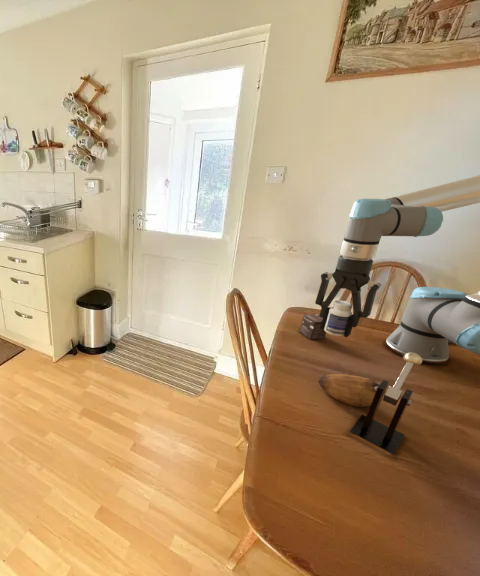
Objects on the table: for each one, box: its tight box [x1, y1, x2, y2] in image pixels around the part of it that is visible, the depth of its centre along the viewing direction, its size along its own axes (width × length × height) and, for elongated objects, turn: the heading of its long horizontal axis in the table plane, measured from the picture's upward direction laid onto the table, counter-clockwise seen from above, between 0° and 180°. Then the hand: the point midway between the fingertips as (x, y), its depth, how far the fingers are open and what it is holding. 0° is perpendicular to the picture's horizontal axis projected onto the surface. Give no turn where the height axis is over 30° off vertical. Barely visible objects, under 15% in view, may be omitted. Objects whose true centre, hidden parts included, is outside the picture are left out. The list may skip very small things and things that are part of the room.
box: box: [298, 313, 327, 340], centre depth 117 cm, size 6×6×7 cm
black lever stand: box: [349, 379, 414, 455], centre depth 71 cm, size 9×8×14 cm
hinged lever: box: [382, 353, 423, 406], centre depth 71 cm, size 15×3×3 cm, turn 126°
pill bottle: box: [324, 299, 353, 337], centre depth 92 cm, size 5×5×10 cm
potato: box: [318, 373, 380, 408], centre depth 83 cm, size 8×14×8 cm
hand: (334, 331), depth 94 cm, fingers closed on pill bottle, 5 cm apart
